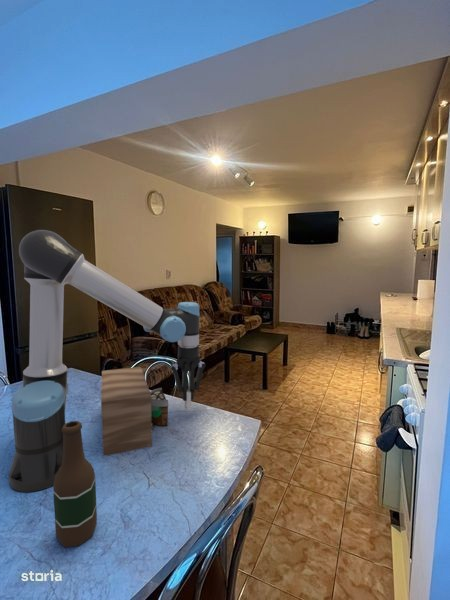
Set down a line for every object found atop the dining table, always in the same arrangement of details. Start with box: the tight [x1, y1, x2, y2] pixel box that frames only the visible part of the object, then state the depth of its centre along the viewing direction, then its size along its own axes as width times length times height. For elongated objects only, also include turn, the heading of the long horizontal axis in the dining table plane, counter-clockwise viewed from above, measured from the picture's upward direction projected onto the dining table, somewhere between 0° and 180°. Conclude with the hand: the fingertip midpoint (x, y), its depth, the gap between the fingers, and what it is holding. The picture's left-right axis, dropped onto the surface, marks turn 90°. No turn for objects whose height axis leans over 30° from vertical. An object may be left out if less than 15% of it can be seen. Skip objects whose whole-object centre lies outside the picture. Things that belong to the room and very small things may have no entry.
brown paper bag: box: [100, 366, 153, 457], centre depth 106 cm, size 28×14×16 cm, turn 21°
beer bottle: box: [52, 420, 98, 548], centre depth 64 cm, size 8×8×24 cm
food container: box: [150, 387, 169, 428], centre depth 111 cm, size 12×6×10 cm, turn 22°
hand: (187, 408), depth 114 cm, fingers closed
